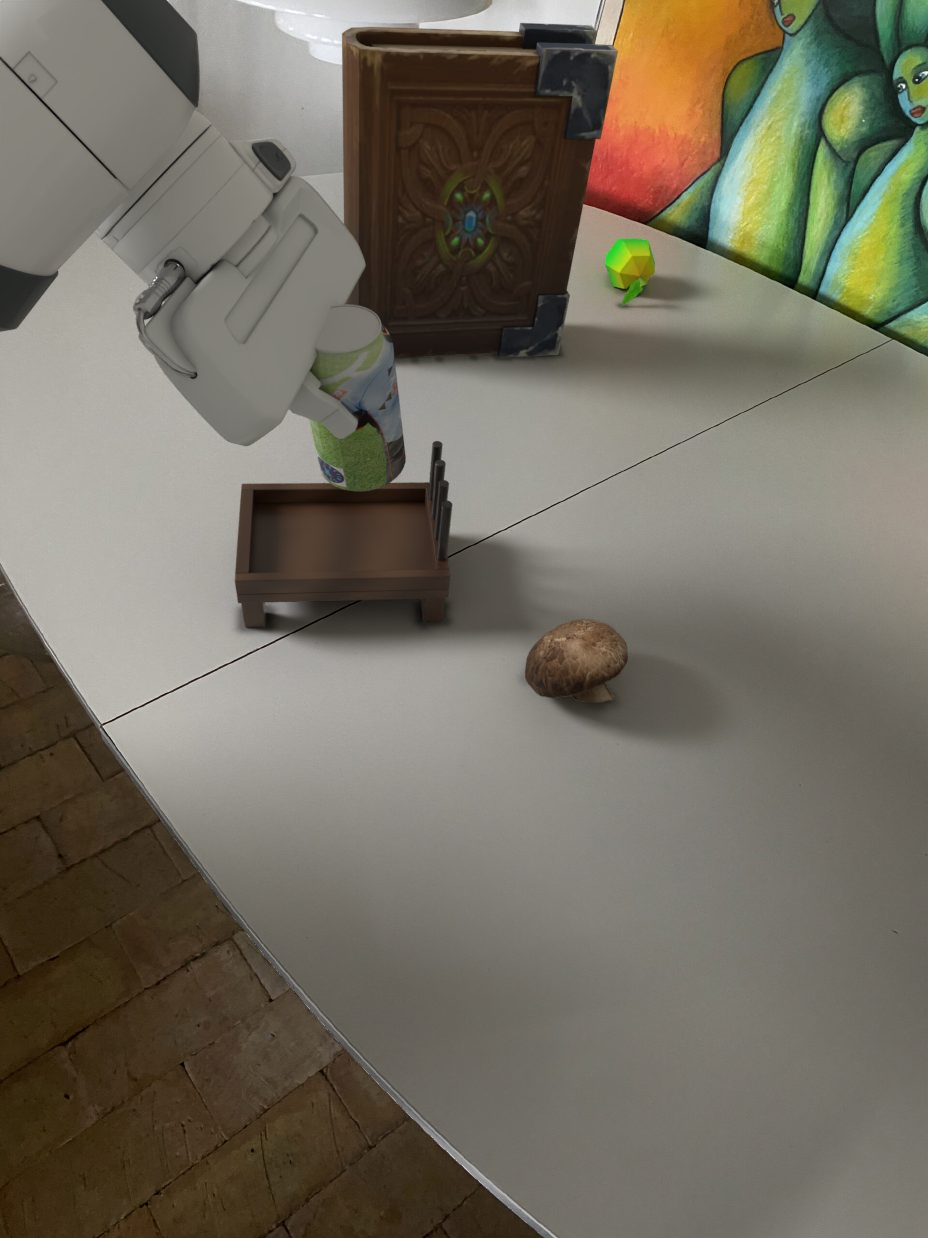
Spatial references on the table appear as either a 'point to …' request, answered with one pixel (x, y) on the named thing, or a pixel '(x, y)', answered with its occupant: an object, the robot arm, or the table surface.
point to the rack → (344, 544)
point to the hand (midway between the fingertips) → (363, 402)
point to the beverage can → (359, 400)
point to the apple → (630, 266)
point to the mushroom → (577, 661)
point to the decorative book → (470, 179)
